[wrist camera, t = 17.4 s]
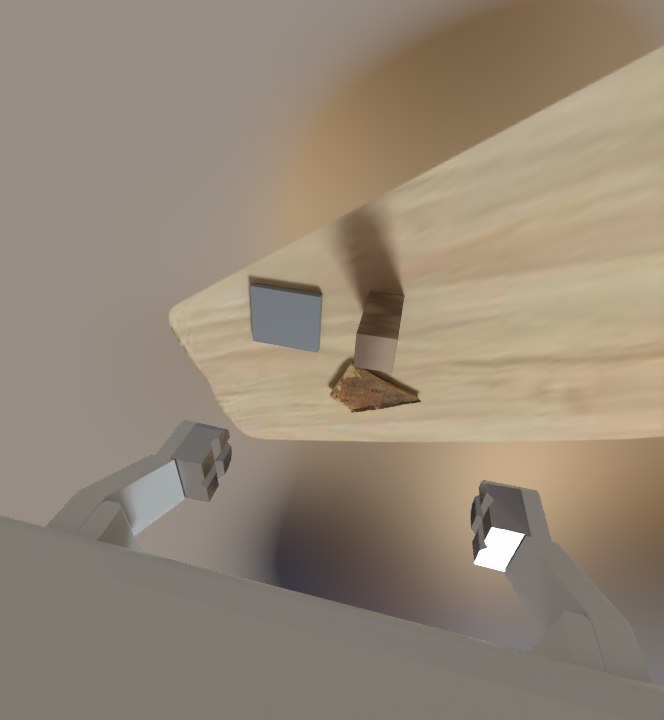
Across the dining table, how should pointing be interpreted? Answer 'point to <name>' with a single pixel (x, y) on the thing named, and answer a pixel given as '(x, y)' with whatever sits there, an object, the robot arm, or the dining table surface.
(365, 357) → the walnut block
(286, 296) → the slate board
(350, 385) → the shard
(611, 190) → the dining table surface
